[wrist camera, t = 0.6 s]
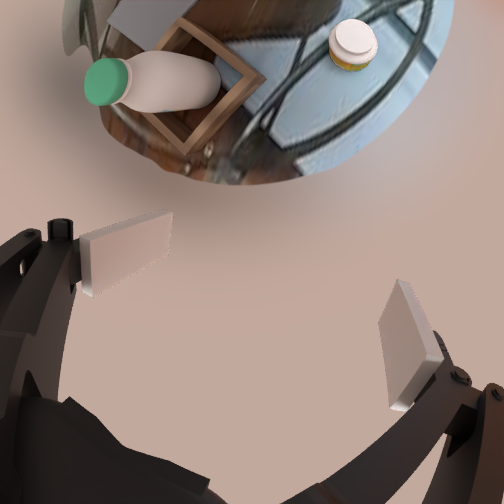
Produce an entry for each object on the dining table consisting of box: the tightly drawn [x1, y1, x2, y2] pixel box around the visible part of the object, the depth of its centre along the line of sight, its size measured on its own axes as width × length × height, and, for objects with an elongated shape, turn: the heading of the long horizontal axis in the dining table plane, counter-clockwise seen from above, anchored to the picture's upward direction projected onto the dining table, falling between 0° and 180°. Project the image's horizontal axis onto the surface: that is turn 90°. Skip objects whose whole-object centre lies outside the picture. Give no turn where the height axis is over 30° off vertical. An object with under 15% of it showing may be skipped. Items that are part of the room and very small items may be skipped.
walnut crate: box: [139, 16, 267, 156], centre depth 33 cm, size 14×14×5 cm
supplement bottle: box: [329, 19, 378, 72], centre depth 24 cm, size 5×5×10 cm
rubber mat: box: [107, 0, 199, 52], centre depth 29 cm, size 14×14×1 cm
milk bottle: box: [84, 51, 221, 113], centre depth 27 cm, size 8×8×20 cm
